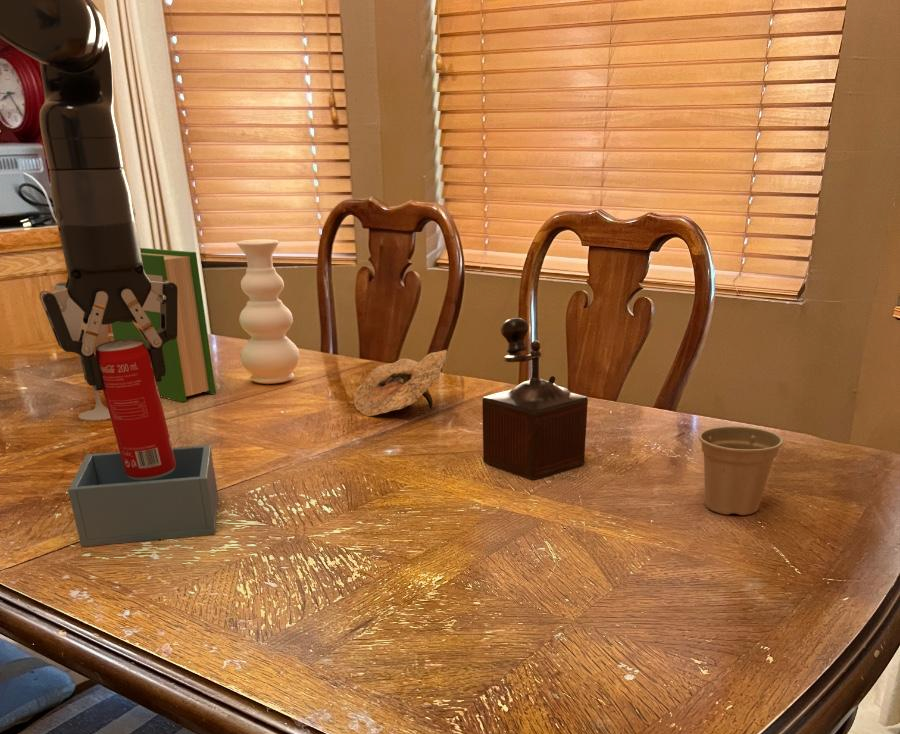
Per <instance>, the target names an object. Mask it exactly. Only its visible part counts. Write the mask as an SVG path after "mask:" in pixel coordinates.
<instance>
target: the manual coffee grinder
mask: <svg viewBox="0 0 900 734" xmlns="http://www.w3.org/2000/svg"><path fill="white" fill-rule="evenodd" d="M528 332H529V324H528V322H527V320H524V319H523V318H521V317H513V318H509V319H507V320H505V321H504V322H503V323H502V324H501V326H500V333H501V335H502V336H503V337H504V338H505V340H506V342H507V343H508V346H507V350H506V352H507V353H508V354H506V355H504V362H506V363H525V362H526V363H527V362H529V361H531V377H530V379H529V380H526V381H522V382H520V383H519V384H517V385H516V386H514V387H513V388H511V389H508V390H505V391H500V392H496V393H493V394H489V395H486V396H482V403H481V404H482V405H481V406H482V454H483V457H482V460H483V462H484V463H486V464H487V465H489V466H491V467H493V468H496V469H500V470H502V471H504V472H507V473H509V474H512V475H516V476H519V477H522V478H526V479H529V480H531V481H533V480H537V479H541V478H545V477H548V476H551V475H555V474H558V473H561V472H564V471H568V470H570V469H574V468H577V467H580V466H583V465H584V464H585V463H586V458H585V453H586V440H587V439H586V438H587V423H588V405H589V404H588V403H589V398H588V396H587V395H581V394H578V393H574V392H571V391H570V390H569V389H568V388H566V387H563V386H559V385H558V384H556V383H555V382H556V376H554V375H551V376H550V377H549V379H548V380H546V379H543V378H540V368H539V367H540V366H539V365H540V358H541V357H542V352H541V351H540V349H541V343H540V341H539V340H534V341H531V342H530V344H529V345H530V350H531V351H530V352H529V353H530V354H527V355H521V354H522V353H523V352H524V351H527V349H528V347H527V346H526V344H525V338H526V335H527V333H528Z"/></svg>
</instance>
